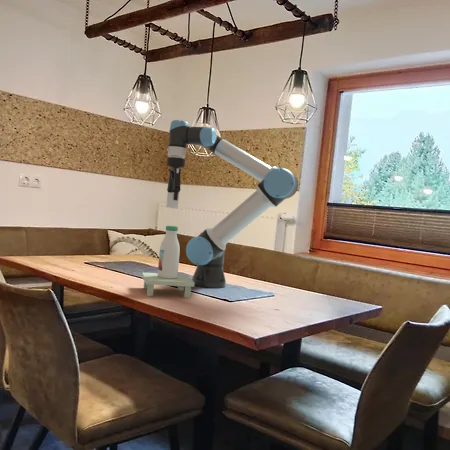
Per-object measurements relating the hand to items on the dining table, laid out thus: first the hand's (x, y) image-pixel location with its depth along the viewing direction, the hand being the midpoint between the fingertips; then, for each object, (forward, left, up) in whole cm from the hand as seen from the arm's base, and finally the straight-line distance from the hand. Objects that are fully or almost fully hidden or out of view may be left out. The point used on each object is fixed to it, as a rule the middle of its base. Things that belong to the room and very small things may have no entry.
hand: (171, 208), depth 200 cm
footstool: (+2, +18, -33) cm, 37 cm away
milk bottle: (+2, +18, -27) cm, 32 cm away
